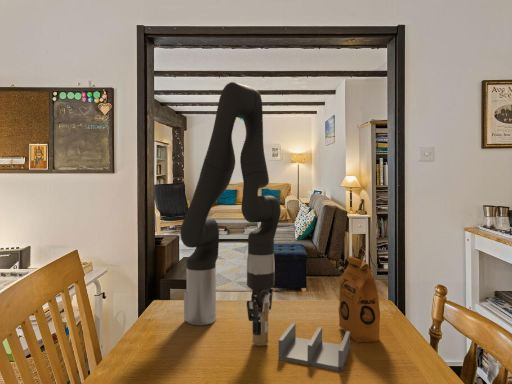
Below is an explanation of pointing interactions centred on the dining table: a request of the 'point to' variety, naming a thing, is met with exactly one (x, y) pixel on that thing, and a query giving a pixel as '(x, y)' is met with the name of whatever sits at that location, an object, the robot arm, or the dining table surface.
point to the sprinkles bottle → (262, 326)
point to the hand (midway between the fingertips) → (260, 330)
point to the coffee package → (359, 302)
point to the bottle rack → (313, 350)
